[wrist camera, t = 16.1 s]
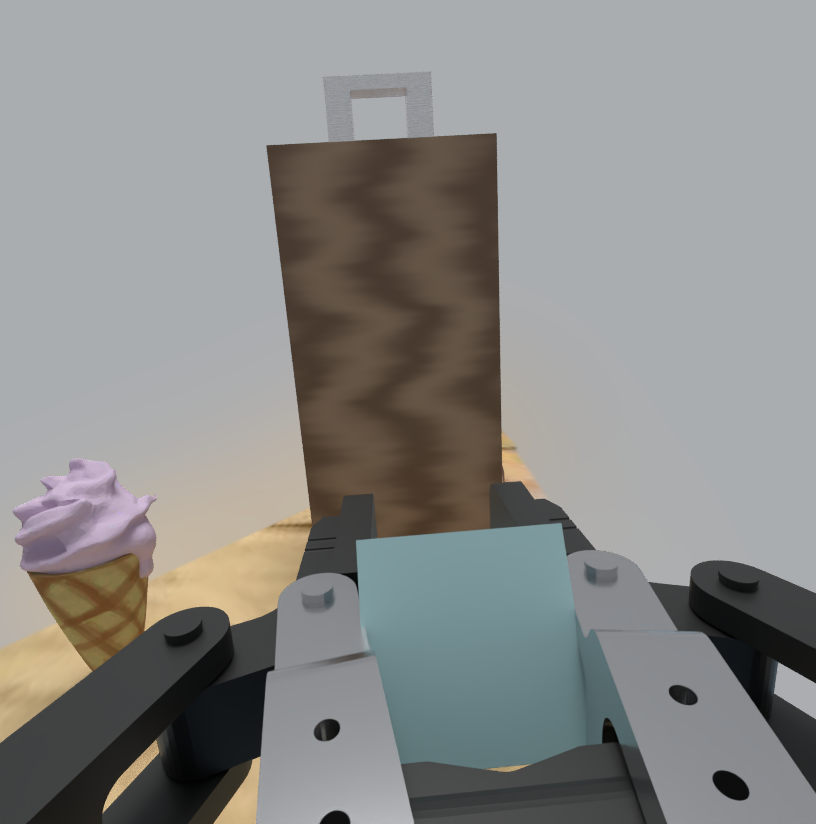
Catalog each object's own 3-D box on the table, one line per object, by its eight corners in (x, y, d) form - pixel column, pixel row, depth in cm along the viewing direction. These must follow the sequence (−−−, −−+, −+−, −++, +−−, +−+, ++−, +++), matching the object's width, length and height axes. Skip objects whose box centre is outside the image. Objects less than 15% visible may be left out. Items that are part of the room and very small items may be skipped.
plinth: (322, 607, 38) (266, 145, 30) (335, 532, 49) (298, 185, 42) (503, 591, 38) (496, 133, 30) (475, 520, 50) (464, 175, 42)
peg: (598, 757, 6) (561, 522, 7) (368, 780, 6) (355, 540, 7) (442, 590, 30) (437, 538, 30) (392, 594, 30) (389, 542, 30)
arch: (330, 152, 32) (323, 77, 31) (332, 157, 34) (325, 86, 33) (434, 146, 32) (430, 71, 31) (431, 152, 34) (428, 81, 33)
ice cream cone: (189, 642, 35) (148, 439, 31) (189, 707, 29) (140, 469, 26) (79, 675, 32) (20, 459, 29) (56, 754, 27) (-20, 497, 23)
